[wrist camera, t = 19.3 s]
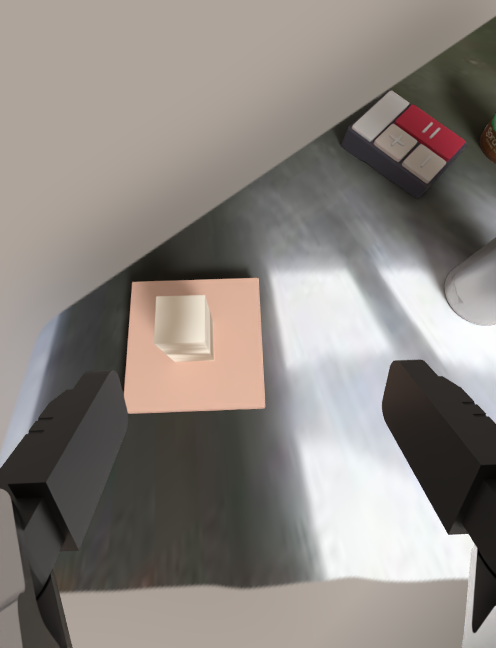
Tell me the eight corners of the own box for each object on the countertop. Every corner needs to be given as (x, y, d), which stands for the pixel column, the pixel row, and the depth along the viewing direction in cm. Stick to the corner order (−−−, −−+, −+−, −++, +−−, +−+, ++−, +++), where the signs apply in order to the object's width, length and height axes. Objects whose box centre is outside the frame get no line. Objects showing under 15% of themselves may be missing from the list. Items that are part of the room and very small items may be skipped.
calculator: (431, 184, 45) (348, 123, 47) (414, 203, 49) (338, 146, 51) (472, 140, 48) (391, 83, 50) (453, 162, 52) (379, 108, 54)
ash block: (213, 323, 39) (204, 294, 30) (214, 360, 38) (204, 342, 29) (175, 324, 39) (156, 296, 30) (174, 361, 38) (153, 343, 29)
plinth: (257, 287, 44) (258, 277, 41) (263, 408, 39) (265, 407, 36) (139, 291, 43) (132, 281, 41) (131, 413, 39) (122, 412, 36)
